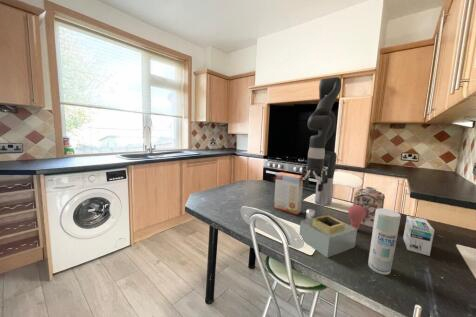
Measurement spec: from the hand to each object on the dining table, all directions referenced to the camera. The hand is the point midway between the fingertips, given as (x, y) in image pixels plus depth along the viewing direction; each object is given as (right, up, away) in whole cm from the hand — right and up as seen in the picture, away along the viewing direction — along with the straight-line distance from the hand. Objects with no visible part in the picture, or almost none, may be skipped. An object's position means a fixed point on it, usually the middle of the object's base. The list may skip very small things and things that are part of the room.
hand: (312, 188), depth 98 cm
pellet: (-1, -16, +3) cm, 17 cm away
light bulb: (+17, -18, -6) cm, 26 cm away
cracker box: (-10, -14, +14) cm, 22 cm away
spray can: (+10, -22, -32) cm, 40 cm away
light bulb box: (+35, -21, -18) cm, 45 cm away
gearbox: (-1, -19, -18) cm, 26 cm away
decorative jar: (+28, -18, +3) cm, 34 cm away
